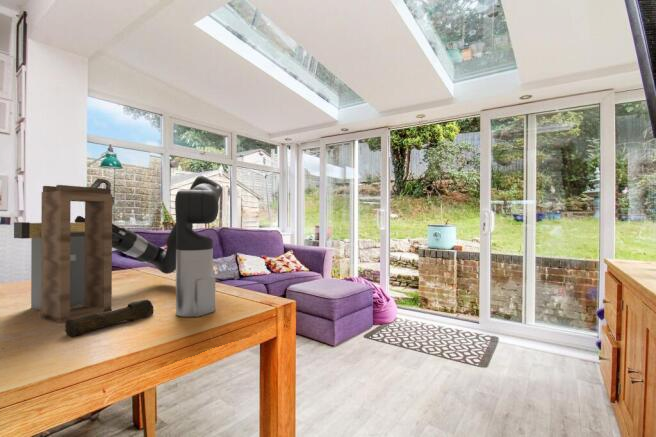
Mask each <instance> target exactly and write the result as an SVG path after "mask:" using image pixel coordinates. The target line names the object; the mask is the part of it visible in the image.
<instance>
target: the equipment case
mask: <svg viewBox="0 0 656 437" xmlns="http://www.w3.org/2000/svg"><path fill="white" fill-rule="evenodd" d="M30 239H31V241H30V242H31V243H30V244H31V247H30V248H31V250H30V251H31V255H30V256H31V259H30V260H31V261H30V262H31V268H30V270H31V271H30V272H31V273H30V274H31V275H30V277H31V279H30V280H31V283H30V284H31V285H30V286H31V287H30V288H31V289H30V290H31V291H30V293H31V294H30V300H31V301H30V304H31V305H30V309H33V310H37V311H41V238H30ZM83 304H85V232H72V233H70V307H73V306H78V305H83Z"/></svg>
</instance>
